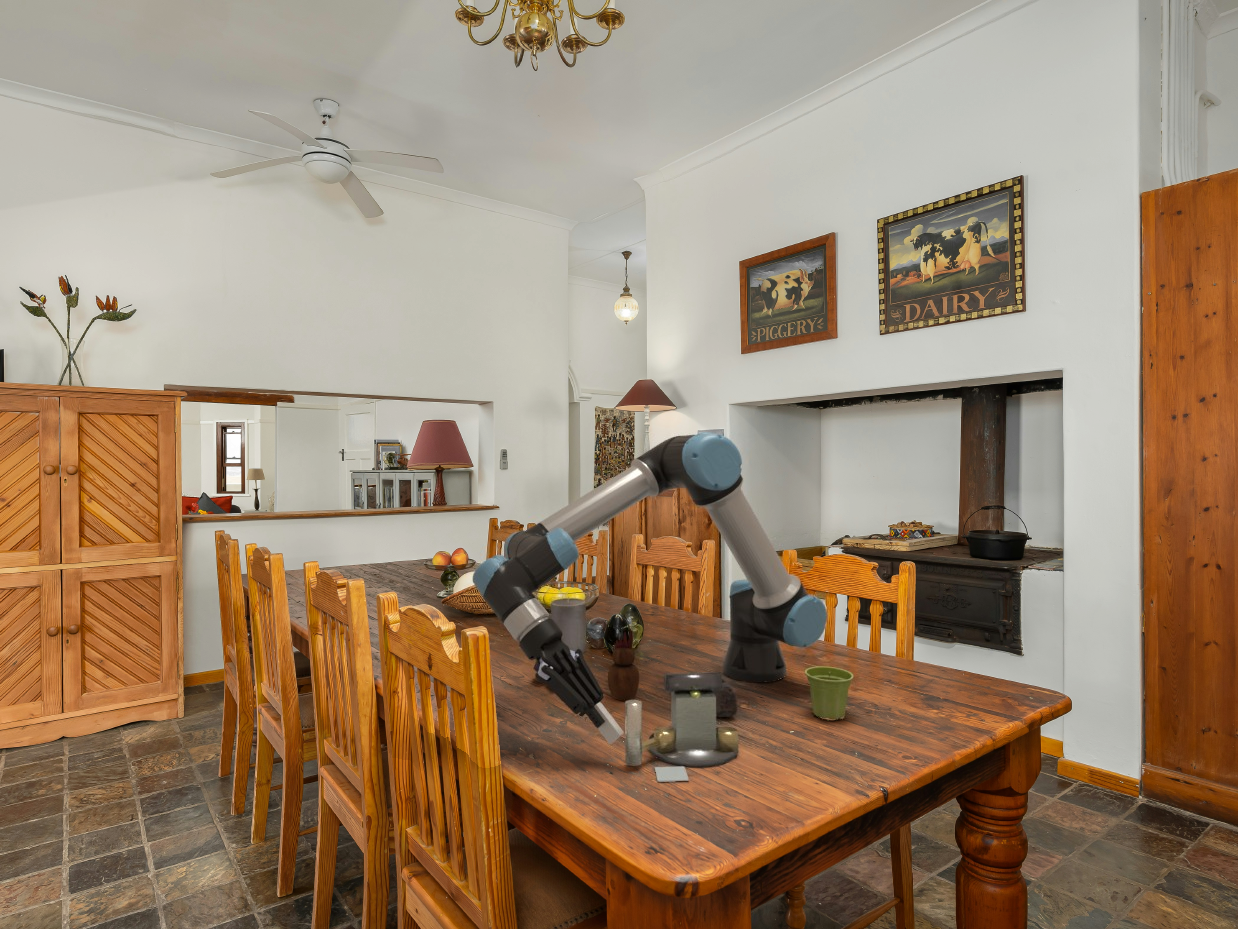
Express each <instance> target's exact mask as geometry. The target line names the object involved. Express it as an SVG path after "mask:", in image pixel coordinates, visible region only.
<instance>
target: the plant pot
mask: <svg viewBox="0 0 1238 929" xmlns="http://www.w3.org/2000/svg"><path fill="white" fill-rule="evenodd" d="M804 674H805V675H806V677H807V681H808V684H809V692H810V698H811V706H812V707H811V708H812V713H814V714H815V715H816V716H815V717H818V716H819V717H822V718H829V719H837V718H841V717H843V716H846V711H847V710H846V709H847V702H848V696H849V690H850V686H851V682H852V681H853V679H854V674H853V673H852V672H851V671H848V670H845V669H843V668H838V667H834V666H833V667H832V666H813V667H808V668H806V669H805V671H804ZM814 714H813V715H814ZM819 717H818V718H819ZM837 720H838V719H837Z"/></svg>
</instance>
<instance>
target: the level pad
mask: <svg viewBox="0 0 1238 929" xmlns="http://www.w3.org/2000/svg"><path fill="white" fill-rule="evenodd" d="M654 771H655V772H656V773H655V772H654V773H655V776H656V780H657V783H658V782H669V783H676V782H675V781H689V782H690V780H689V776H688V774H687V770H686V767H684V766H654ZM673 781H674V782H673Z"/></svg>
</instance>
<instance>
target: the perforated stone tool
mask: <svg viewBox="0 0 1238 929" xmlns="http://www.w3.org/2000/svg"><path fill="white" fill-rule="evenodd" d="M713 693H714V695H715V696H716V717H719V718H725V717H726V718H732V717H734V716H735V715H736V714H737V712H738V709H739V708H738V707H739V706H738V704H739V702H738V697H737V693H736V691H735V689H734V687H733V686H732V685H731V684H730V683H729V682H728V681H727V680H726V679H724V678H723V677H722V691H713Z"/></svg>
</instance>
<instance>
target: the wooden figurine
mask: <svg viewBox="0 0 1238 929" xmlns="http://www.w3.org/2000/svg"><path fill="white" fill-rule="evenodd" d="M633 630H634V629H631V630H630V633H629V637H628V638H627V633H626V631H624V632H623V634H624V635H623V639H622V636H619V640H618V639H616V641H615V645H614V647H615V648H613V649H612V650H613V651H612V655H611V656H612V662H613V663H612V664H611V665H610V667H609V669H608V672H607V686H608V689H609V692H610V695H611V696H612V697H613V698H614V699H616V700H618V701H622V700H626V701H628V700H634V698H635V697H636V696H637V694H638V693H637V692H638V689H639V684H640V672H639V668H638V666H637V665H635V664H633V663H634V662H635V658H636V657H635V650H634V649H633V634H634V633H633Z"/></svg>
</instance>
